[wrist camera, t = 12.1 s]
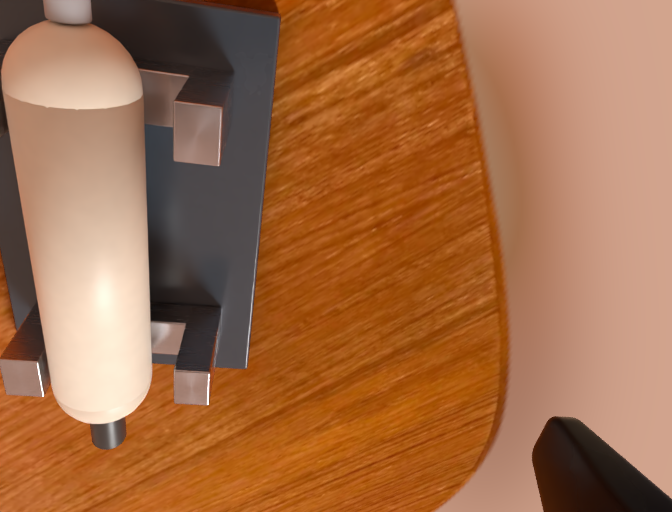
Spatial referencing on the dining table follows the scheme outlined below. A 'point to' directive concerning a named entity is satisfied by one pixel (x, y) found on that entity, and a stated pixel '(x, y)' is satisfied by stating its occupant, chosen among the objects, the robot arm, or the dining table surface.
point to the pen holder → (171, 183)
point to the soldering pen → (84, 210)
